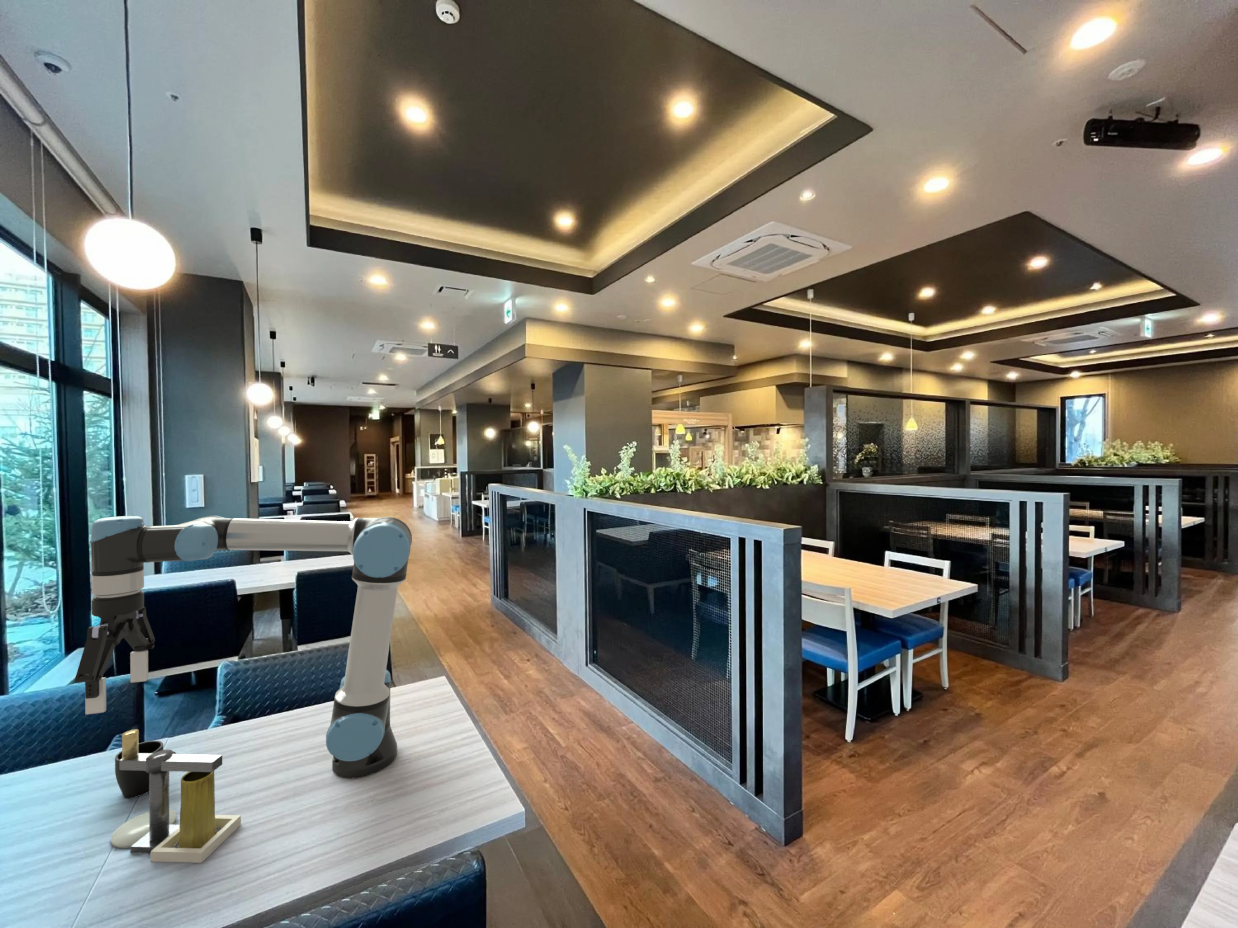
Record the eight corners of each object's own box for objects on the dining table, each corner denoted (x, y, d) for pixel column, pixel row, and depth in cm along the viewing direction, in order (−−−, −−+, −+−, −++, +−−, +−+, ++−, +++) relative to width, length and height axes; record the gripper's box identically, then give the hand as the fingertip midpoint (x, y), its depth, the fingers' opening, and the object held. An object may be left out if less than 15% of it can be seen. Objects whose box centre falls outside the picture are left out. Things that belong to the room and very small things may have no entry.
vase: (193, 831, 104) (193, 764, 104) (224, 830, 105) (224, 763, 105) (169, 854, 98) (169, 784, 98) (202, 853, 99) (202, 782, 99)
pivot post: (186, 830, 105) (186, 759, 104) (160, 853, 99) (160, 778, 98) (158, 829, 105) (158, 758, 104) (130, 852, 99) (130, 777, 98)
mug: (157, 802, 113) (157, 761, 113) (104, 801, 113) (104, 760, 112) (188, 778, 121) (188, 740, 121) (138, 778, 121) (138, 739, 121)
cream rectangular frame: (240, 824, 107) (240, 815, 107) (201, 862, 97) (201, 852, 97) (194, 823, 107) (194, 814, 107) (150, 861, 97) (150, 851, 97)
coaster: (188, 812, 110) (188, 809, 110) (145, 848, 100) (145, 844, 100) (144, 811, 110) (144, 808, 110) (96, 847, 100) (96, 843, 100)
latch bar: (225, 761, 103) (225, 728, 103) (209, 774, 99) (209, 739, 99) (134, 759, 103) (134, 726, 103) (114, 772, 99) (114, 737, 99)
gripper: (133, 578, 111) (134, 672, 112) (45, 613, 88) (46, 731, 88) (174, 576, 114) (174, 668, 114) (99, 609, 90) (100, 724, 90)
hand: (119, 695), depth 101 cm, fingers open, 13 cm apart
